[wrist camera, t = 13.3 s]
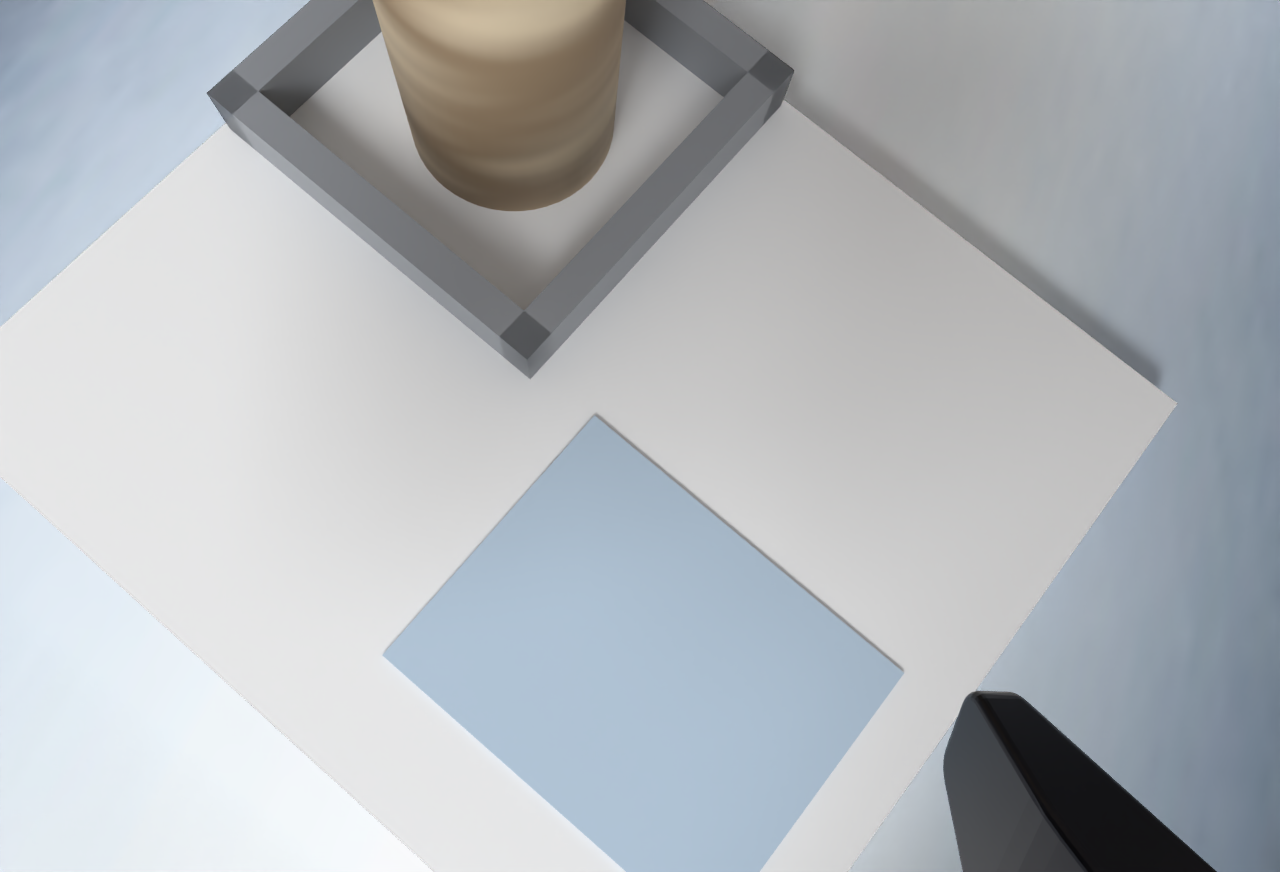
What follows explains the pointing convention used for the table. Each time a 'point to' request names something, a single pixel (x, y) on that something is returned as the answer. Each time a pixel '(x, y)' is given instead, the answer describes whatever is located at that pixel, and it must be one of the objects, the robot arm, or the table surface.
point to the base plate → (569, 457)
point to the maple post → (507, 92)
